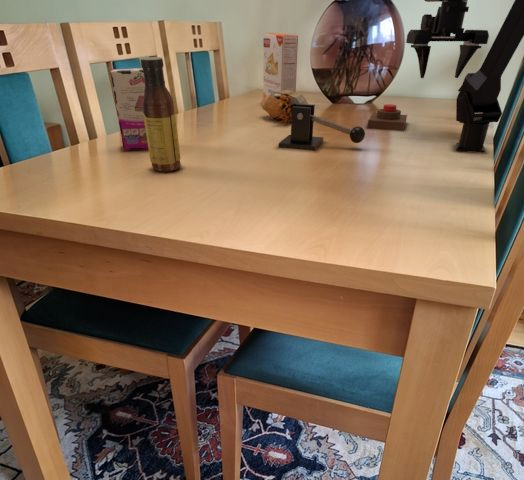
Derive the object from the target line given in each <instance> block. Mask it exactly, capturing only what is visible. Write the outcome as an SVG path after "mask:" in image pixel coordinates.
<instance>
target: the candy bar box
mask: <svg viewBox="0 0 524 480" xmlns="http://www.w3.org/2000/svg"><path fill="white" fill-rule="evenodd" d="M109 71H110V73H109V74H110V79H111V86H112V91H113V97H114V103H115V109H116V113H117V119H118V125H119V131H120V137H121V143H122V149H123V151H125V152H127V151H128V152H129V151H144V150H149V148H148V142H147V136H146V129H145V123H144V117H143V111H142V107H143V102H144V91H145V83H144V82H145V80H144V73H143V69H142V67H137V68H136V67H135V68H133V67H132V68H112V69H110V70H109Z"/></svg>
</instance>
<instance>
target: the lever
mask: <svg viewBox="0 0 524 480" xmlns="http://www.w3.org/2000/svg"><path fill="white" fill-rule="evenodd" d="M300 107H301V106H300ZM310 120H312V121H314V123H317V124H320V125H322V126H325V127H328V128H330V129H332V130H336V131H338V132H341V133H344V134H346V135H348V136H349V139H350V141H351V142H352V143H355V144H359V143H362V141H364V139H365V138H366V131H365V129H364V128H363V127H362V126H359V125H357V126H354V127H353V128H349V127H346V126H344V125H340V124H339V123H335V122H333V121H330V120H327V119H324V118H322V117H320V116H316V115H315V114H314V115H311V116H310Z"/></svg>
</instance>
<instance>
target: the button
mask: <svg viewBox="0 0 524 480" xmlns="http://www.w3.org/2000/svg"><path fill="white" fill-rule="evenodd" d="M382 109H383V111H385V112H396V109H397V105H396V104H391V103H388V104H386V103H385V104H383V108H382Z"/></svg>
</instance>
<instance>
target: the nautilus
mask: <svg viewBox="0 0 524 480" xmlns="http://www.w3.org/2000/svg"><path fill="white" fill-rule="evenodd" d="M296 104H309V102H308V101H307V99H306V97H305V96H304V95H303V94H302V93H301V92H297V91H296V92H293V91H291V90H288V89H287V90H283V91H279V92H274V93H272V94H270V95H268V96H267V97H265V98H264V99H263V98H262V99H261V101H260V107H261V108H262V110H264V111H265V112H266V113H267V114H268V115H269V116H270V117H271V118H272V119H275V118H276V120H278V119H282V120H281V121H278V126H281V125H287V126H289V123H291V119H292V107H293V106H295V107H296ZM279 123H280V124H279Z"/></svg>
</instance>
